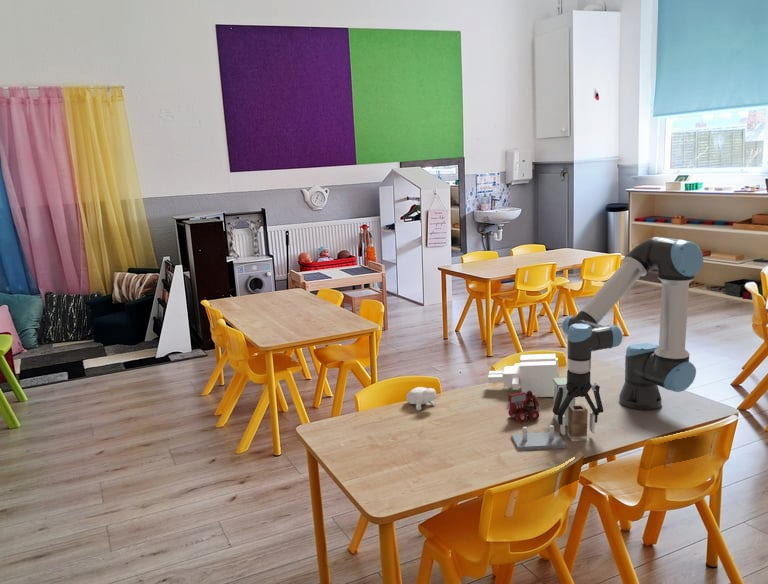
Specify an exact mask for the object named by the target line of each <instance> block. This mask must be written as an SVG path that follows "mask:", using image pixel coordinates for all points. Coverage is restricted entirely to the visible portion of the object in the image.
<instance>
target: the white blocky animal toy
mask: <svg viewBox="0 0 768 584" xmlns="http://www.w3.org/2000/svg"><path fill="white" fill-rule="evenodd" d="M405 398H406V402H408V403H407V404H410V405H415V409H416V411H421V410H422V405H425V404H428V403H429V404H430V405H431V406H432V407H434V406H437V404H436V402H435V401H434V400H436V399H437V392H436V389H434V388H432V387H429V388H427V387H425V386H418V387H415V388H412V389H411V390H410V391H408V392H407V395H406V396H405Z"/></svg>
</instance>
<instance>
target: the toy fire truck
mask: <svg viewBox="0 0 768 584" xmlns="http://www.w3.org/2000/svg"><path fill="white" fill-rule="evenodd" d="M507 397H508V398H507V401H508V402H509V405H508V406H509V408H508V411H507V414H508V416H509V417H511V418H515V421H516V422H518V423H520V424H523V423H526V421H527V419H529V420H530V421H533V422H535V421H538V419H539V418H540V403H539V401H538V399H537V397H535V395H533V394H532V391H527V394H526V393H525V392H522V391H521V392H516V393H511V394H509V395H508V396H507Z"/></svg>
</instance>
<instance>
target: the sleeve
mask: <svg viewBox="0 0 768 584" xmlns="http://www.w3.org/2000/svg"><path fill="white" fill-rule="evenodd" d="M588 414H589V410H588V409H587V407H586V406H585V405H584V404H575V405H569V406H568V426H567V436H568V438H569V439H570V440H571V441H572V442H583V441H584V442H585V441H588V417H589V416H588Z"/></svg>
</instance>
